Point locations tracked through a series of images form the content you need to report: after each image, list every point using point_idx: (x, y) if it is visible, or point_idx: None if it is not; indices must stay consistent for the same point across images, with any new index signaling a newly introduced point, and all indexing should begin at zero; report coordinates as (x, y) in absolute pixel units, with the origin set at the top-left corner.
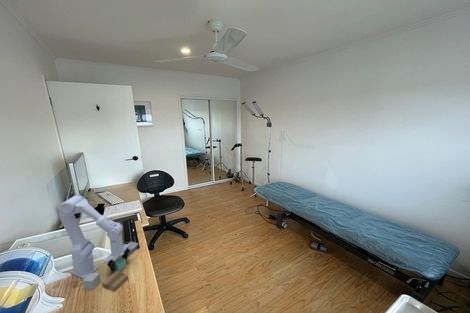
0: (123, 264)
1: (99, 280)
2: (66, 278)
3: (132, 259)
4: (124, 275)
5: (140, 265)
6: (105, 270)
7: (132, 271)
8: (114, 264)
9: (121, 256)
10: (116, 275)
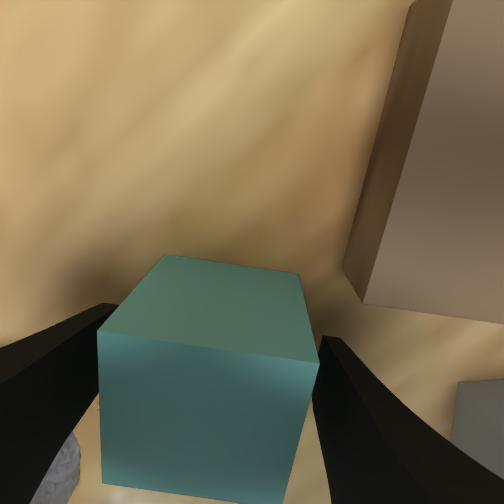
0: (193, 292)
1: (495, 403)
2: None
3: (23, 260)
4: (486, 28)
5: (63, 6)
6: None
7: (231, 61)
8: (400, 447)
9: None
10: (479, 219)
